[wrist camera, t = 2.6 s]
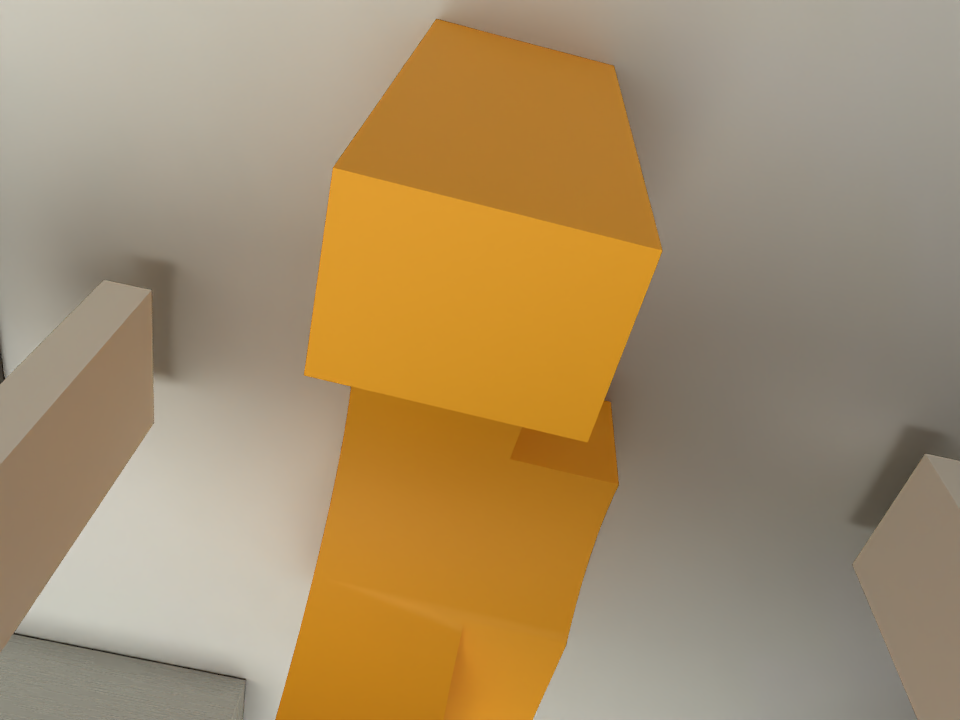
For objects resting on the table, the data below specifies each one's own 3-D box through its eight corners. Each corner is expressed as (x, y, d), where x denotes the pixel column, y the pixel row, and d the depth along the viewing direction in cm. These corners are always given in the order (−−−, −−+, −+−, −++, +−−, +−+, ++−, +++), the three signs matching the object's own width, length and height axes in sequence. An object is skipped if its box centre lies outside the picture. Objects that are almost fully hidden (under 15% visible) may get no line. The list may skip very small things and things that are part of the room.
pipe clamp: (519, 625, 18) (504, 957, 13) (328, 582, 18) (230, 903, 13) (729, 93, 12) (878, 304, 6) (438, 16, 12) (333, 168, 6)
